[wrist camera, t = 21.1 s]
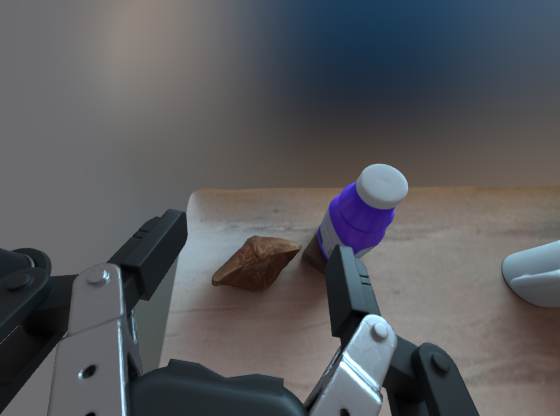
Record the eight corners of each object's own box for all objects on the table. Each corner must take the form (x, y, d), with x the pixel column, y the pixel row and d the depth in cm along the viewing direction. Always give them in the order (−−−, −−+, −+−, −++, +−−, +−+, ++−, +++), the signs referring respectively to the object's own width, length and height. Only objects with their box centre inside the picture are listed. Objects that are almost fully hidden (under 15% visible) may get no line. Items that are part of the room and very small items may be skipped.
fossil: (304, 231, 35) (284, 239, 26) (308, 282, 35) (289, 309, 25) (239, 234, 40) (201, 242, 30) (241, 279, 39) (204, 300, 30)
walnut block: (301, 258, 36) (303, 251, 33) (324, 224, 40) (328, 214, 36) (337, 283, 35) (343, 279, 31) (358, 245, 38) (366, 237, 34)
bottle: (362, 263, 32) (438, 209, 17) (327, 272, 31) (373, 225, 16) (343, 221, 36) (393, 144, 20) (311, 228, 35) (337, 155, 20)
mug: (531, 249, 38) (619, 224, 28) (572, 300, 34) (691, 291, 24) (472, 263, 36) (542, 241, 27) (507, 318, 32) (604, 316, 23)
